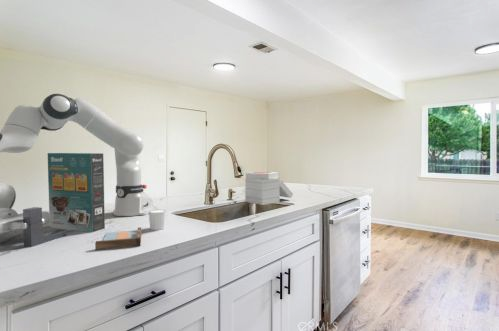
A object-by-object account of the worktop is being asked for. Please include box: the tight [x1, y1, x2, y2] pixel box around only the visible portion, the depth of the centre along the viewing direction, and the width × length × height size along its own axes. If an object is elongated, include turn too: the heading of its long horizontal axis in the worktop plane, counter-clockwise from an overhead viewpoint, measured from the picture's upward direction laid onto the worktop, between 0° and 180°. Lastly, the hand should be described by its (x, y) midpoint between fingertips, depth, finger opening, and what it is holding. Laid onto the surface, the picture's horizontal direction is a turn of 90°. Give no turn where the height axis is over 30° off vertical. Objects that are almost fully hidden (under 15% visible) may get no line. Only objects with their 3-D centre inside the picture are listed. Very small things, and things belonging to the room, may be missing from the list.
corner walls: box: [94, 227, 142, 251], centre depth 102 cm, size 15×13×2 cm
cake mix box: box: [47, 152, 106, 233], centre depth 119 cm, size 22×6×30 cm, turn 72°
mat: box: [98, 229, 143, 251], centre depth 104 cm, size 19×12×1 cm, turn 19°
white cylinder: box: [148, 209, 167, 231], centre depth 119 cm, size 7×7×7 cm
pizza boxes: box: [244, 171, 294, 206], centre depth 186 cm, size 19×30×18 cm, turn 133°
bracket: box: [22, 206, 66, 248], centre depth 102 cm, size 13×3×12 cm, turn 166°
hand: (35, 223), depth 97 cm, fingers closed on bracket, 4 cm apart
